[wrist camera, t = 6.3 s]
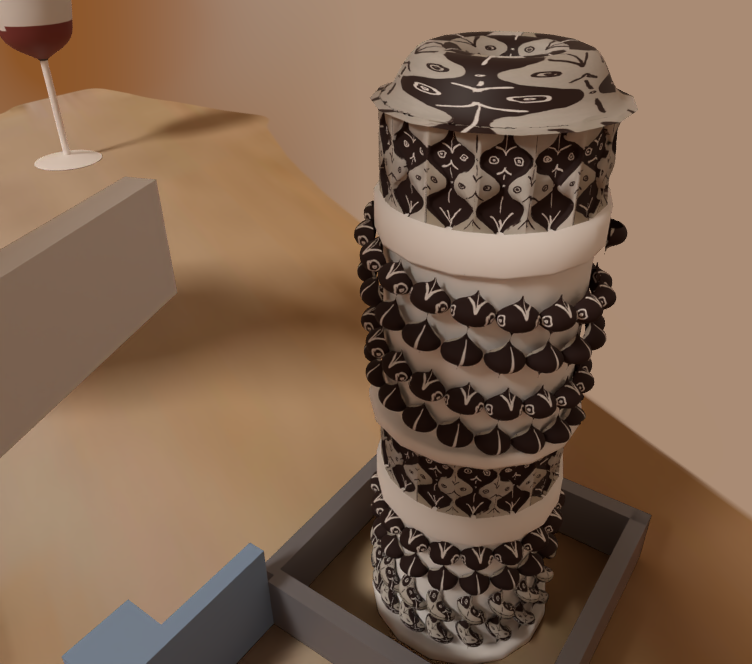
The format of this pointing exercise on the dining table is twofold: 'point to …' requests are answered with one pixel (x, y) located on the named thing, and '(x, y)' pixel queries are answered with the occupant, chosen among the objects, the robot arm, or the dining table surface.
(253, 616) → the blue tray
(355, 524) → the charcoal holder
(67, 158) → the wineglass
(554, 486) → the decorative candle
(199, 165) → the dining table surface
